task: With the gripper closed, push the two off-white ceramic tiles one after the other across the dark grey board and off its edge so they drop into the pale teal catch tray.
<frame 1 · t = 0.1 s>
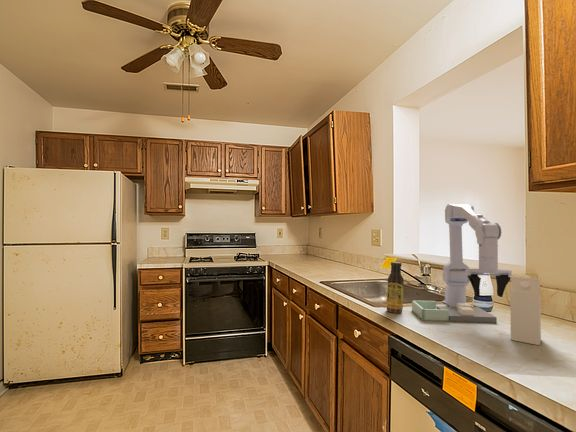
hand: (488, 296, 116), 10 cm above the table, tool pointing down, fingers open, 7 cm apart
milk carton: (525, 340, 101), on the table
tile a: (464, 309, 128), point 2 cm above the table, touching board
board: (464, 316, 125), on the table
sauce bottle: (395, 312, 132), on the table
tray: (429, 315, 127), on the table
tile b: (465, 313, 122), point 2 cm above the table, touching board
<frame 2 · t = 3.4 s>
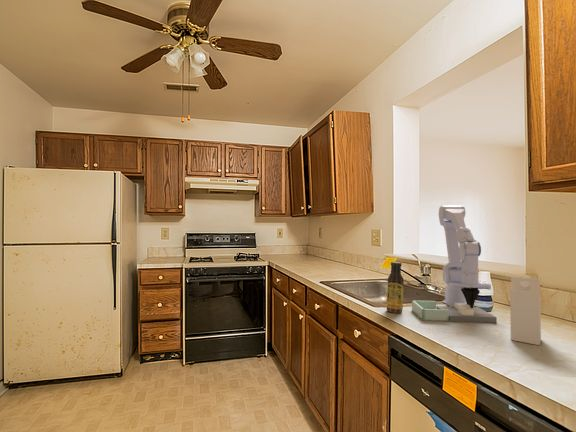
hand: (470, 307, 128), 3 cm above the table, tool pointing down, fingers closed
tile a: (462, 309, 128), point 2 cm above the table, touching gripper
everything else where it was.
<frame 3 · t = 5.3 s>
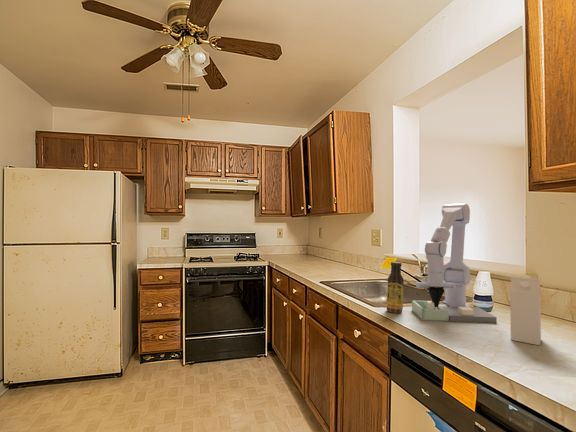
hand: (435, 306, 129), 3 cm above the table, tool pointing down, fingers closed
tile a: (432, 307, 129), point 3 cm above the table, tilted 93°, touching gripper, tray
everything else where it was.
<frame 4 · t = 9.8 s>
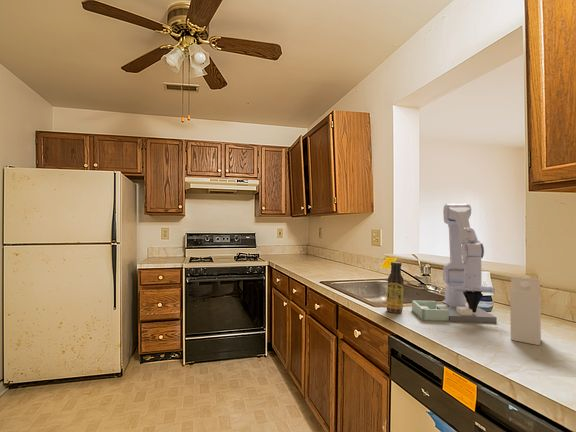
hand: (472, 311, 122), 3 cm above the table, tool pointing down, fingers closed
tile a: (422, 307, 130), point 2 cm above the table, tilted 180°, touching tray
tile b: (464, 313, 122), point 2 cm above the table, touching board, gripper
everything else where it was.
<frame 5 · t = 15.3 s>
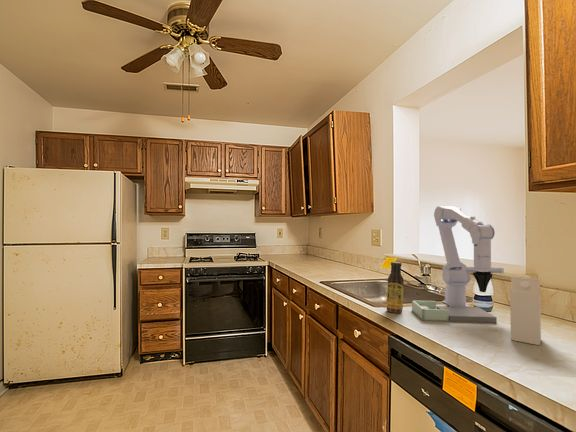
hand: (482, 291, 126), 9 cm above the table, tool pointing down, fingers closed
tile b: (429, 311, 123), point 2 cm above the table, tilted 180°, touching tray
everything else where it was.
at the end: tile a inside the target area (3.5 cm from its centre), point 2.4 cm above the table; tile b inside the target area (3.6 cm from its centre), point 2.4 cm above the table; tile b touching tray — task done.
